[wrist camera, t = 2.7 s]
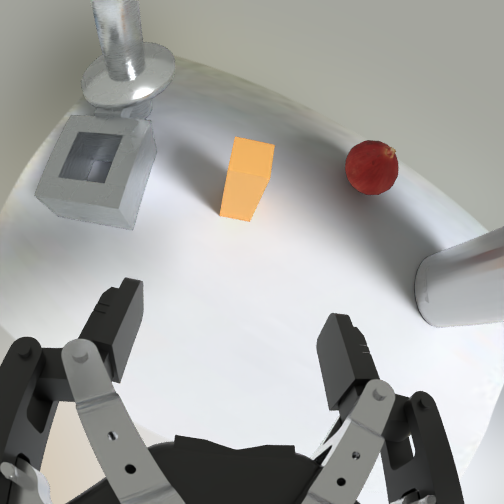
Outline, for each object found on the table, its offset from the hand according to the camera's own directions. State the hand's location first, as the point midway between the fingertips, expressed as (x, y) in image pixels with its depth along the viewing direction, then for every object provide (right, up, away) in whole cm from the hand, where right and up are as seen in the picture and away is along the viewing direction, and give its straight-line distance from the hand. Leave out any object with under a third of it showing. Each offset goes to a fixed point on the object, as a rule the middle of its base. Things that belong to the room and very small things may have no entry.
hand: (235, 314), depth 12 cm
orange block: (-1, +7, +17) cm, 18 cm away
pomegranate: (+13, +11, +20) cm, 26 cm away
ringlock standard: (-14, +15, +17) cm, 26 cm away
